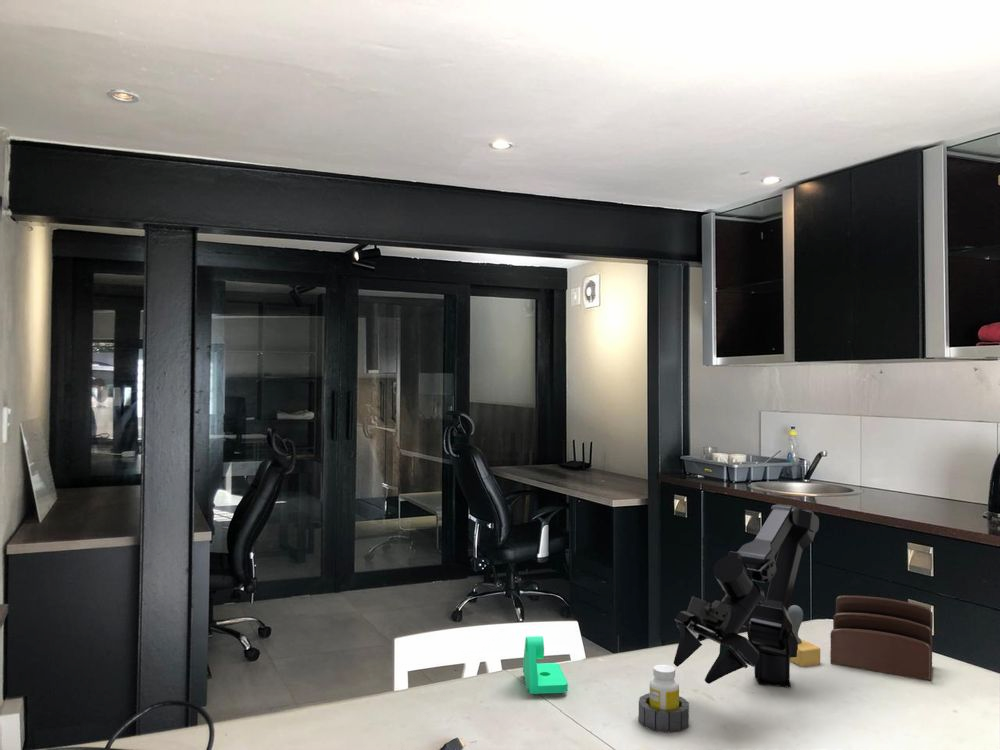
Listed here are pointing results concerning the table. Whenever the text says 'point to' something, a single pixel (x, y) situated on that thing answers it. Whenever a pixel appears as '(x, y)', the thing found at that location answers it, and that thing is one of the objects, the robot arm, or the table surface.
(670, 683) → the supplement bottle
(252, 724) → the table surface
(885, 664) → the letter holder
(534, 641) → the camera mount
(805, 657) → the rubber stamp
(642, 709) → the ring
